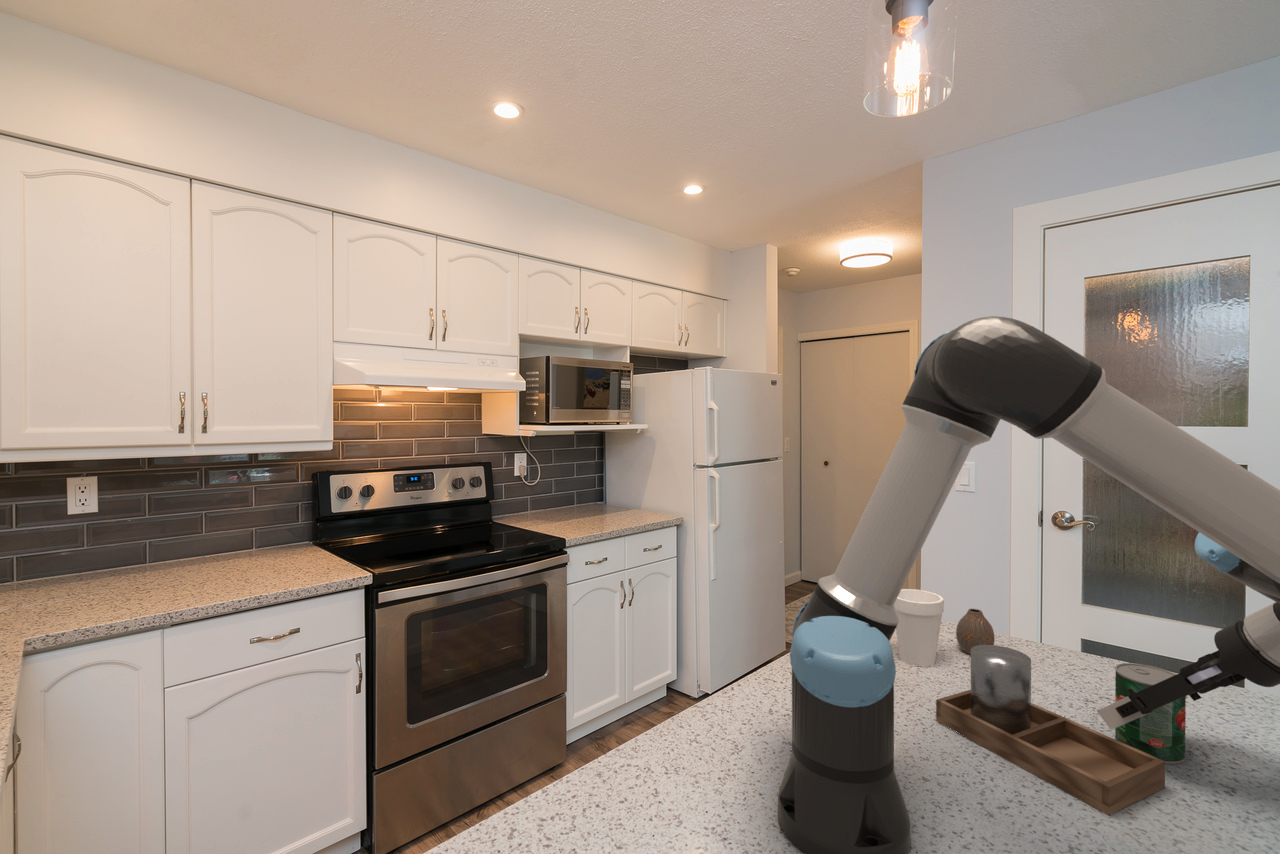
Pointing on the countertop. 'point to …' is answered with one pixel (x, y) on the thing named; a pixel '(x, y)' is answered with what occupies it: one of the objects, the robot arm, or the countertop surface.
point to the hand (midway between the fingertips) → (1123, 712)
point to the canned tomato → (1151, 716)
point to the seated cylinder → (1001, 687)
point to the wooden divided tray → (1063, 754)
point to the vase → (974, 630)
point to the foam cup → (918, 626)
